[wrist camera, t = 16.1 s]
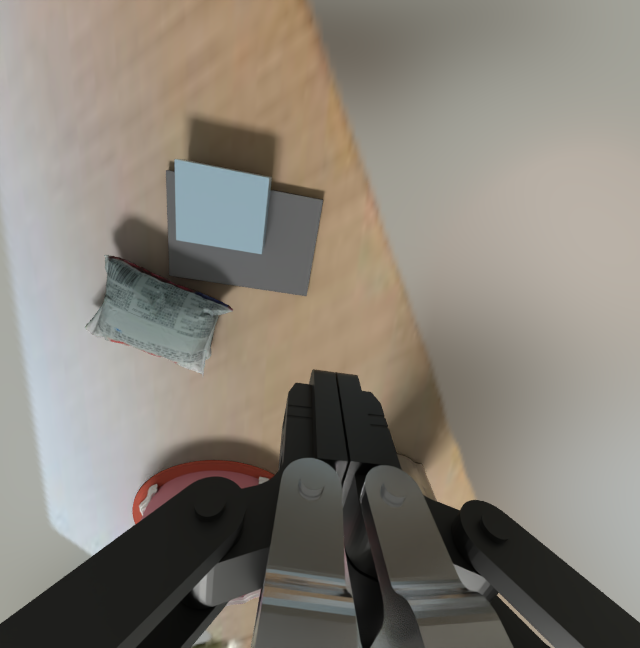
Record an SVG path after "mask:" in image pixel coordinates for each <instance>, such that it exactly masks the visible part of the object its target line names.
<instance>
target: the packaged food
mask: <svg viewBox="0 0 640 648" xmlns="http://www.w3.org/2000/svg"><path fill="white" fill-rule="evenodd" d="M104 256H105V269H106V272H107V284H106V295H105V297H104V298H105V299H104V302H103V304H102V306H101V307H100V309H99V310H98V312H97V313H96V314H95V316H94V317H93V318H92V320H90V322H89V323H88V324H87V325H86V327H85V328H86V330H87V331H89V332H90V333H91V334H92V335H94V336H96V337H104V338H105V340H108V341H111V342H116V343H121V344H124V345H128V346H132V347H135V348H137V349H140V350H142V351H144V352H147V353H149V354H151V355H155V356H158V357H164V358H167V359H168V360H170V361H172V362H174V363H176V364H178V365H180V366H182V367H184V368H187V369H190V370H193V371H196V372H198V373H201V374H202V375H203V374H204V367H205V360H206V359H209V358H210V356H211V348H210V347H211V341H212V338H213V333H214V329H215V325H216V322H217V320H218V315H222V314H226V313H228V312H232V311H233V309H232V308H231V307H230V306H229V305H227V304H225V303H223V302H221V301H219V300H216V299H214V298H212V297H210V296H207V295H205V294H202V293H200V292H197V291H194V290H191V289H189V288H186V287H183V286H180V285H176V284H174V283H173V282H171V281H170V280H168V279H165V278H163V277H161V276H159V275H156V274H154V273H152V272H150V271H148V270H146V269H144V268H143V267H139V266H137V265H136V264H134V263H131V262H130V261H127V260H125V259H121V258H118V257H115V256H109V255H104Z"/></svg>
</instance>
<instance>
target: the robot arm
mask: <svg viewBox="0 0 640 648" xmlns="http://www.w3.org/2000/svg"><path fill="white" fill-rule="evenodd" d="M259 589H261V590H260V596H259V602H258V608H257V614H256V620H255V626H254V632H253V637H252V643H251V648H550V647H549V646H548V645H546V644H545V643H544V642H543V641H542V640H541V639H540V638H539V637H538V636H537V635H536V634H535V633H534V632H533V631H532V630H531V629H530V628H529V627H528V626H527V625H526V624H525V623H524V622H523V621H522V620H521V619H520V618H519V617H518V616H517V615H516V614H515V613H514V612H513V611H512V610H511V609H510V608H509V607H508V606H507V605H506V604H505V603H504V602H503V601H502V600H501V599H500V598H499V597H498V596H497V594H498V593H500V594H501V595H502V596H503V597H504V598H505V599H506V600H507V601H508V602H509V603H510V604H511V605H512V606H513V607H514V608H515V609H516V610H517V611H518V612H519V613H520V614H521V615H522V616H523V617H524V618H525V619H526V620H527V621H528V622H529V623H530V624H531V625H532V626H534V628H535V629H537V631H538V632H539V633H540V634H541V635H543V637H545V638H546V639H547V640H548V641H549V642H550V643H551V644H552V645H553V646H554V647H555V648H640V623H639V622H638V621H637V620H636V619H635V618H633V617H632V616H631V615H629V614H628V613H627V612H626V611H625V610H623V609H622V608H621V607H620V606H619V605H617V604H616V603H615V602H614V601H612V600H611V599H610V598H609V597H607V596H606V595H605V594H604V593H603V592H601V591H600V590H599V589H598V588H596V587H595V586H594V585H592V584H591V583H590V582H589V581H588V580H587V579H585V578H584V577H583V576H582V575H580V574H579V573H578V572H577V571H575V570H574V569H573V568H572V567H570V566H569V565H568V564H567V563H565V562H564V561H563V560H562V559H561V558H559V557H558V556H557V555H556V554H555V553H553V552H552V551H551V550H550V549H548V548H547V547H546V546H545V545H543V544H542V543H541V542H540V541H538V540H537V539H536V538H535V537H534V536H532V535H531V534H530V533H529V532H527V531H526V530H525V529H524V528H522V527H521V526H520V525H519V524H518V523H516V522H515V521H514V520H513V519H511V518H510V517H509V516H508V515H506V514H505V513H504V512H503V511H501V510H500V509H498V508H497V507H495V506H493V505H491V504H489V503H487V502H484V501H479V500H471V501H468V502H466V503H465V504H464V505H463V506H462V508H461V510H457V509H455V508H452V507H450V506H447V505H445V504H442V503H440V502H437V500H436V498H435V495H434V493H433V490H432V488H431V485H430V483H429V480H428V478H427V475H426V473H425V470H424V468H423V465H422V464H417V463H414V462H413V461H412V460H411V459H410V458H408V457H406V456H403V455H399V454H397V453H396V450H395V447H394V444H393V441H392V438H391V434H390V431H389V429H388V425H387V422H386V419H385V418H384V413H383V410H382V407H381V403H380V402H379V401H378V400H377V399H376V397H375V396H374V395H373V394H372V393H371V392H366V391H362V390H361V386H360V382H359V378H358V376H357V375H352V374H344V373H337V372H336V373H334V372H328V371H321V370H312V373H311V377H310V382H309V384H302V383H295V384H294V386H293V387H292V388H291V390H290V391H289V393H288V398H287V404H286V409H285V415H284V421H283V426H282V436H281V447H280V459H279V470H278V472H277V473H276V475H274V476H273V477H272V478H271V479H269V480H268V481H266V482H264V483H262V484H258V485H255V486H251V487H246V488H242V489H241V488H240V487H239V486H238V484H236V483H235V482H234V481H232V480H230V479H228V478H224V477H218V476H212V477H206V478H202V479H199V480H197V481H195V482H193V483H192V484H190V485H189V486H187V487H186V488H184V489H183V490H182V491H180V492H179V493H178V494H176V495H175V496H174V497H172V498H171V499H170V500H168V501H167V502H165V503H164V504H163V505H161V506H160V507H159V508H157V509H156V510H155V511H153V512H152V513H150V514H149V515H148V516H146V517H145V518H144V519H142V520H141V521H140V522H138V523H137V524H136V525H134V526H133V527H131V528H130V529H129V530H127V531H126V532H125V533H123V534H122V535H121V536H119V537H118V538H116V539H115V540H114V541H112V542H111V543H110V544H108V545H107V546H106V547H104V548H103V549H102V550H100V551H99V552H97V553H96V554H95V555H93V556H92V557H91V558H89V559H88V560H87V561H86V562H84V563H83V564H81V565H80V566H78V567H77V568H76V569H75V570H73V571H72V572H70V573H69V574H68V575H66V576H65V577H64V578H62V579H61V580H60V581H58V582H57V583H55V584H54V585H53V586H51V587H50V588H49V589H47V590H46V591H44V592H43V593H42V594H40V595H39V596H38V597H36V598H35V599H34V600H32V601H31V602H29V603H28V604H27V605H25V606H24V607H23V608H22V609H20V610H19V611H17V612H16V613H15V614H13V615H12V616H10V617H9V618H8V619H6V620H5V621H4V622H2V623H1V624H0V648H191V646H192V645H193V644H194V643H195V642H196V640H197V639H198V638H199V637H200V636H201V635H202V633H203V632H204V631H205V630H206V629H207V627H208V626H209V625H210V624H211V623H212V621H213V620H214V619H215V618H216V617H217V615H218V614H219V613H220V612H221V611H222V610H223V608H224V607H225V606H226V605H227V603H228V602H229V601H230V600H232V599H235V598H238V597H240V596H243V595H246V594H248V593H251V592H254V591H256V590H259Z"/></svg>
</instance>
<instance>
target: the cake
mask: <svg viewBox="0 0 640 648" xmlns="http://www.w3.org/2000/svg"><path fill="white" fill-rule="evenodd" d="M212 476H218V477H224V478H228V479H230V480H232V481H234V482H235V483H236V484H238V486H239V487H240V488H241V489H242V488H246V487H251V486H255V485H258V484H262V483H264V482H266V481H268V480H269V479H271V478H272V477H273V476H274V474H272V473H270V472H268V471H266V470H263V469H261V468H258V467H255V466H252V465H248V464H244V463H239V462H233V461H222V460H205V461H195V462H189V463H184V464H180V465H177V466H173V467H171V468H168V469H166V470H163V471H161V472H159V473H158V474H156V475H154V476H153V477H152V478H150V479H149V480H148V481H147V482H146V483H144V485H143V486H142V487H141V488H140V489H139V491H138V493H137V495H136V497H135V500H134V503H133V518H134V522H135V524H137V523H138V522H140V521H141V520H142V519H144V518H145V517H146V516H148V515H149V514H150V513H152V512H153V511H155V510H156V509H157V508H159V507H160V506H161V505H163V504H164V503H165V502H167V501H168V500H170V499H171V498H172V497H174V496H175V495H176V494H178V493H179V492H180V491H182V490H183V489H184V488H186V487H187V486H189V485H190V484H192V483H193V482H195V481H197V480H199V479H202V478H206V477H212ZM260 590H261V589H259V590H256V591H254V592H251V593H248V594H246V595H243V596H240V597H238V598H235V599H232V600H230V601H229V602H228V603H227V605H226V606H228V605H233V604H243V603H246V602H247V601H249V600H251V599H253V598H256V597H259V596H260Z"/></svg>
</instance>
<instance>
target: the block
mask: <svg viewBox="0 0 640 648" xmlns="http://www.w3.org/2000/svg"><path fill="white" fill-rule="evenodd" d="M271 180H272V177H269V176H264V175H259V174H254V173H249V172H244V171H239V170H234V169H229V168H224V167H219V166H214V165H209V164H204V163H199V162H194V161H189V160H181V159H175V206H176V240H179V241H185V242H191V243H197V244H203V245H209V246H215V247H221V248H227V249H233V250H239V251H245V252H251V253H257V254H262V252H263V250H264V247H265V238H266V228H267V219H268V209H269V199H270V190H271Z"/></svg>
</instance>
